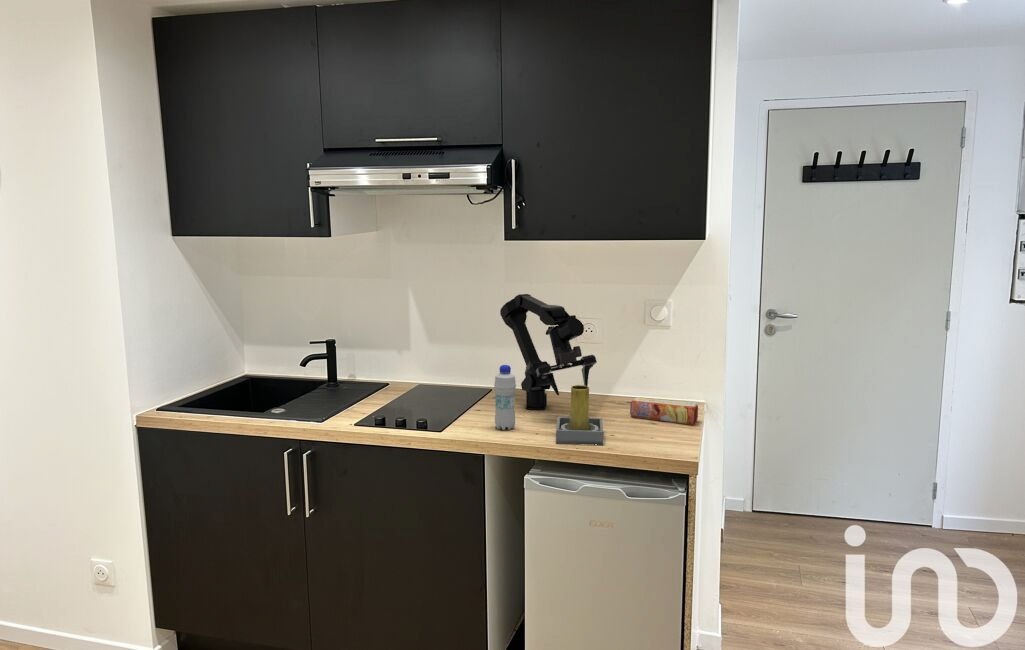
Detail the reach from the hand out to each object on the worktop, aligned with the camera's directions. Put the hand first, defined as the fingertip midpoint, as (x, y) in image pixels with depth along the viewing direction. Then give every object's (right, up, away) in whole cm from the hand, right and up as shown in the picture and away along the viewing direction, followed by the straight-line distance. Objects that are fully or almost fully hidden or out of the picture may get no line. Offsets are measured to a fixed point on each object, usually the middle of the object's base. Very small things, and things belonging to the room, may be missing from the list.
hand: (572, 392), depth 237 cm
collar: (+1, -12, -12) cm, 17 cm away
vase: (+1, -11, -12) cm, 17 cm away
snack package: (+30, -10, +6) cm, 32 cm away
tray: (+1, -12, -12) cm, 17 cm away
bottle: (-21, -11, -4) cm, 24 cm away
